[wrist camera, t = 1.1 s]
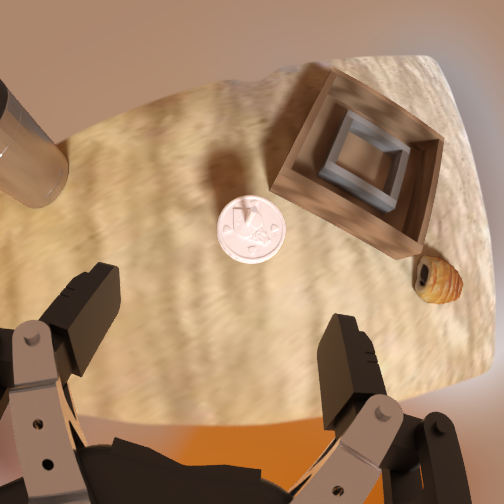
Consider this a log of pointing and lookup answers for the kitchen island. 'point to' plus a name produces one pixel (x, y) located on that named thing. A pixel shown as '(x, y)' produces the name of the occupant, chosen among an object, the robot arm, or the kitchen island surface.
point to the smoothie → (251, 229)
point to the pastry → (437, 281)
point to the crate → (364, 167)
